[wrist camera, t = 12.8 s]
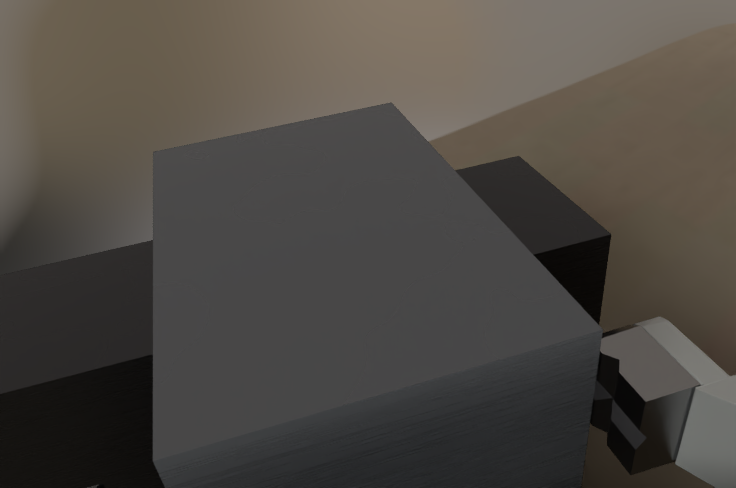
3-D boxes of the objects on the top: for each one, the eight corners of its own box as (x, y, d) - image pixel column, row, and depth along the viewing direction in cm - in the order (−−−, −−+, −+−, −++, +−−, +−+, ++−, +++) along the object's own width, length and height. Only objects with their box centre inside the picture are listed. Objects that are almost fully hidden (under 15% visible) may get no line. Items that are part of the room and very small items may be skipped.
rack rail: (-387, 771, 13) (-763, 593, 9) (-278, 584, 16) (-519, 394, 12) (581, 454, 17) (610, 234, 13) (511, 355, 20) (518, 155, 16)
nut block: (317, 819, 11) (152, 461, 6) (262, 491, 17) (152, 151, 11) (547, 726, 12) (602, 329, 6) (420, 442, 18) (391, 102, 12)
